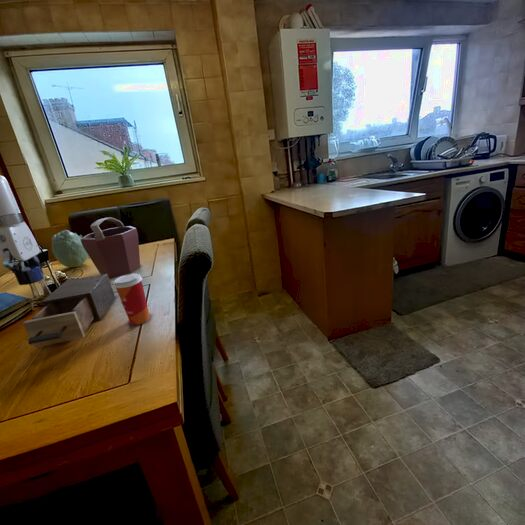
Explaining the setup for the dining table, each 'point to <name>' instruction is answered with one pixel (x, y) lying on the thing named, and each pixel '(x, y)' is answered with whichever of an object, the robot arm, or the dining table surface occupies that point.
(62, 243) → the cabbage
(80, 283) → the cabinet
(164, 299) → the dining table surface
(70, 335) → the drawer
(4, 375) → the dining table surface
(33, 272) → the blue cylinder can
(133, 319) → the paper cup
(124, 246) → the bucket
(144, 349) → the dining table surface
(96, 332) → the dining table surface
